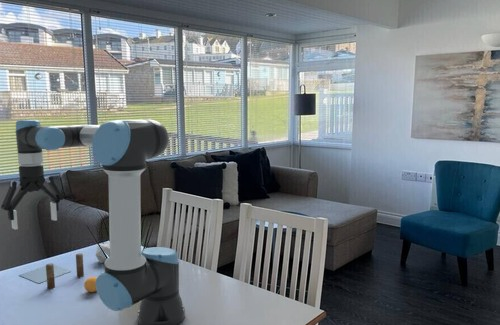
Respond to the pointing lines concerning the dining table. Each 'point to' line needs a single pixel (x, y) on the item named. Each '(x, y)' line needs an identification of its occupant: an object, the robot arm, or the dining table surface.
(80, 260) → the right post
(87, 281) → the ball
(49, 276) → the left post
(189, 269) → the dining table surface
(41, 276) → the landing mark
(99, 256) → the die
